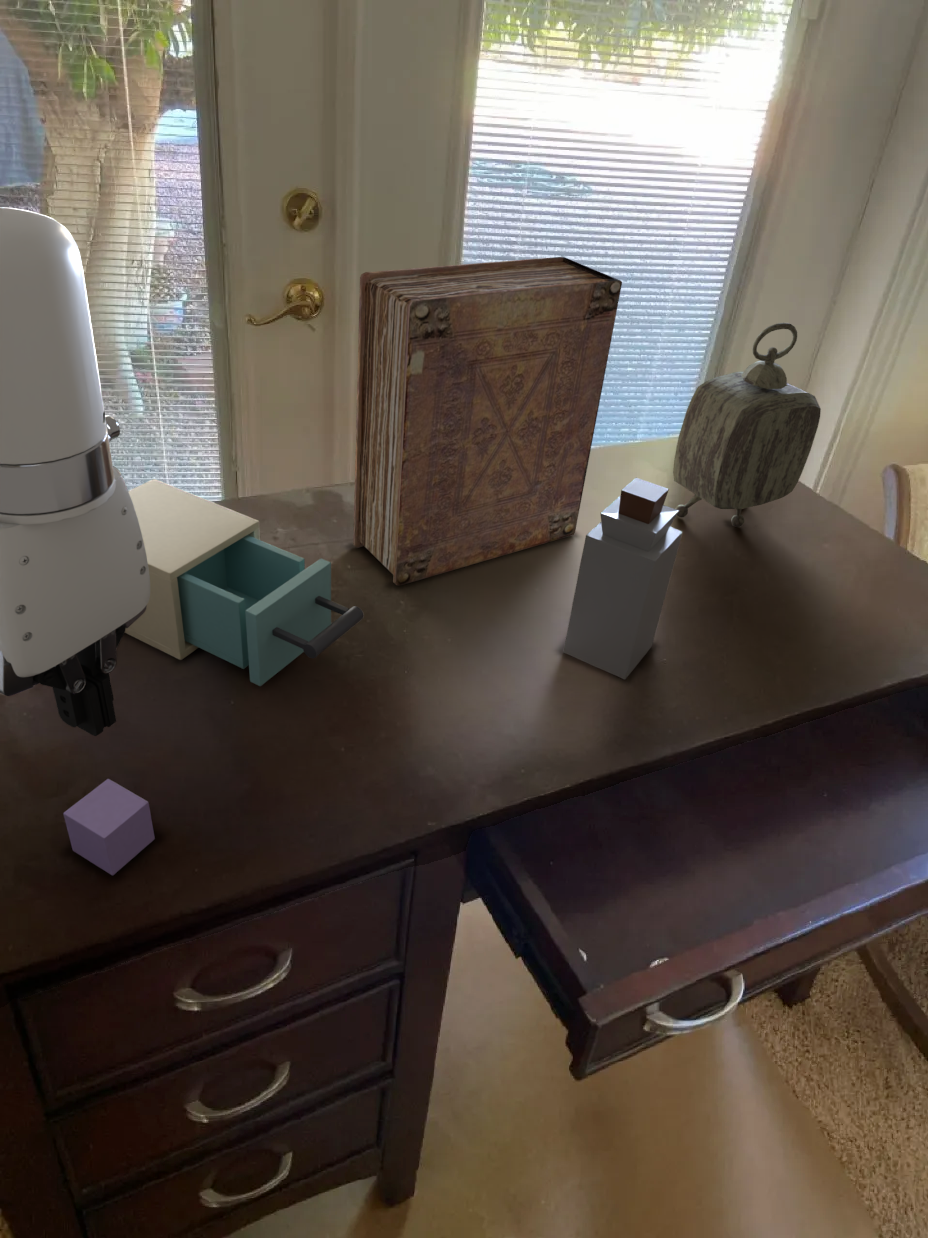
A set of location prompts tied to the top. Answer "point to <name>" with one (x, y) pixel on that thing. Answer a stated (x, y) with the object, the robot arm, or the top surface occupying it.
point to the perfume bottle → (623, 580)
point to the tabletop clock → (746, 435)
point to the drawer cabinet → (178, 554)
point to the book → (476, 408)
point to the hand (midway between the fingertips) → (89, 721)
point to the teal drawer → (261, 607)
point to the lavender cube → (109, 826)
